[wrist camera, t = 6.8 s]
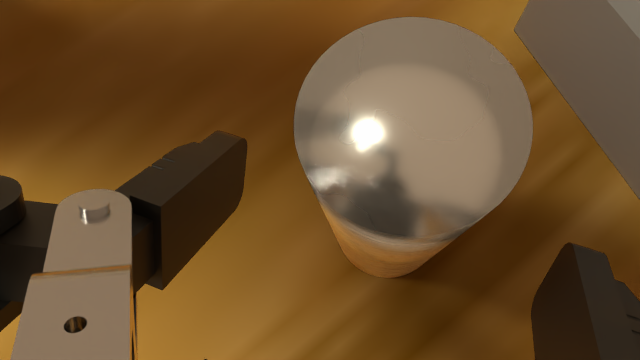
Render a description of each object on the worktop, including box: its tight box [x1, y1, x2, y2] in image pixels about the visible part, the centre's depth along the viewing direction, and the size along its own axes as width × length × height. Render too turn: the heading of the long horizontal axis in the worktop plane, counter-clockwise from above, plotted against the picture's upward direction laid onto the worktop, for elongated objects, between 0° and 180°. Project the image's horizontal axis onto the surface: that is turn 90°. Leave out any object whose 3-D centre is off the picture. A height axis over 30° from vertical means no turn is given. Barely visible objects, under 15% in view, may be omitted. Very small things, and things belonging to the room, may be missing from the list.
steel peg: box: [294, 17, 533, 278], centre depth 13 cm, size 4×4×11 cm
